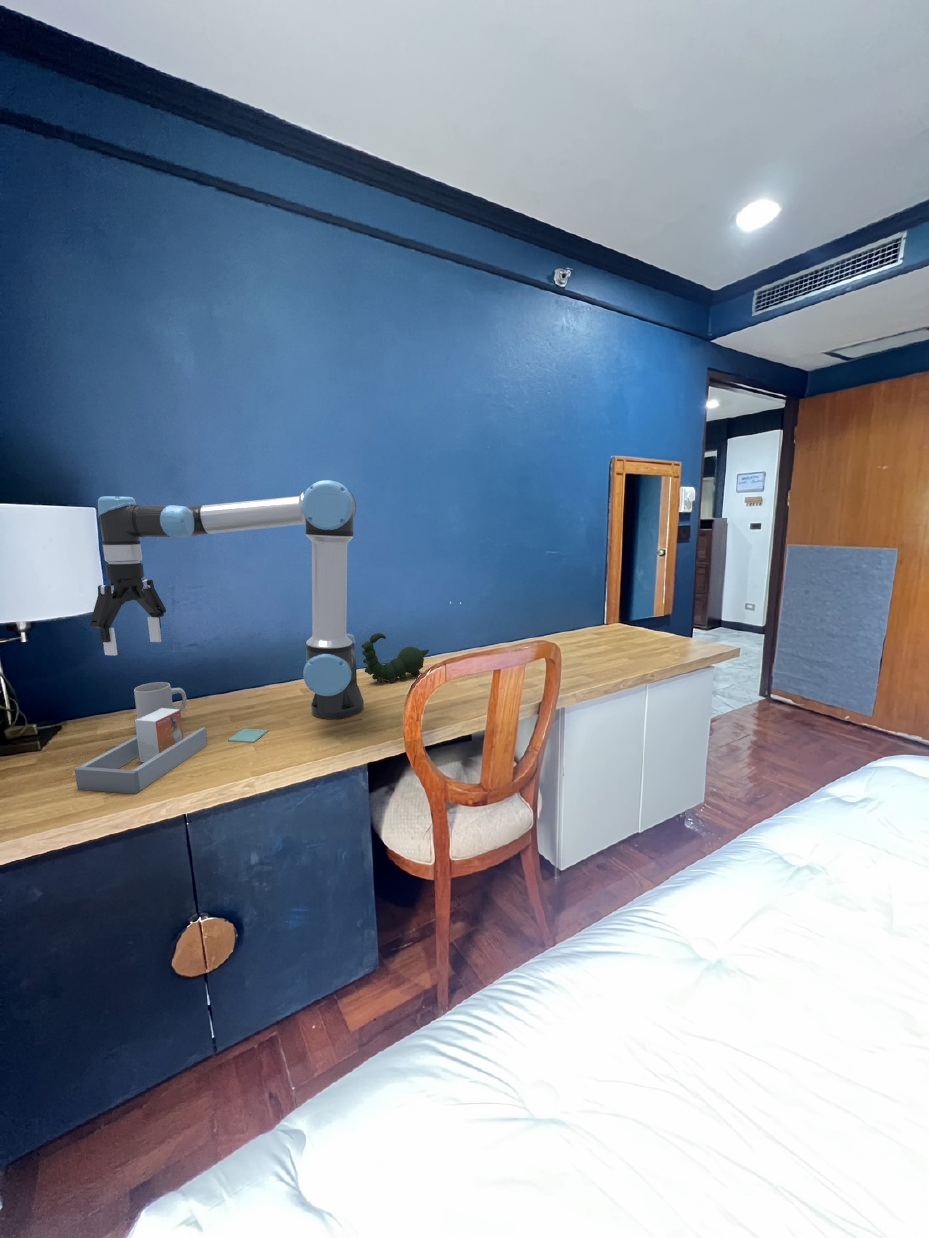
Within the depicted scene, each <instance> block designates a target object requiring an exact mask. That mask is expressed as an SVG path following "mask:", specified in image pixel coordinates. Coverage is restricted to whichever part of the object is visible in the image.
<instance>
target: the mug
mask: <svg viewBox="0 0 929 1238" xmlns="http://www.w3.org/2000/svg"><path fill="white" fill-rule="evenodd" d="M133 693H134V694H133V695H134V700H135V701H134V702H135V709H136V716H137V717H136V719H139V718H141V717H144V716H146V715H148V714H150V713H153V712H155V711H157V710H159V709H160V708H167V709H179V710H181V711H183V710H184V709H185V708H186V707H187V695H186V692H185V690H184V689H183V688H182V687H171V684H170V683H169V682H166V681H165V682H164V681H155V682H149V683H145V684H141V685H138V686H136V687H135V688H134V690H133ZM175 694H176V695H177V694H179V695H181V698H182V701H181V704H180V705H176V706H175V705H174V704H173V696H174V695H175Z"/></svg>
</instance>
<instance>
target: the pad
mask: <svg viewBox="0 0 929 1238" xmlns="http://www.w3.org/2000/svg"><path fill="white" fill-rule="evenodd" d="M268 732H269V730H268V729H255V728H253V729H252V728H243V729H241V730H239V731H238V732H237V733H235V734H234V735H233V736H230V738H228V739H227V741H228V742H233V743H249V744H250V743H251V744H254V743H256V742H257V741H258V740H259V739H260V738H262V737H263V736H265V735H266V734H267V733H268Z"/></svg>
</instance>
